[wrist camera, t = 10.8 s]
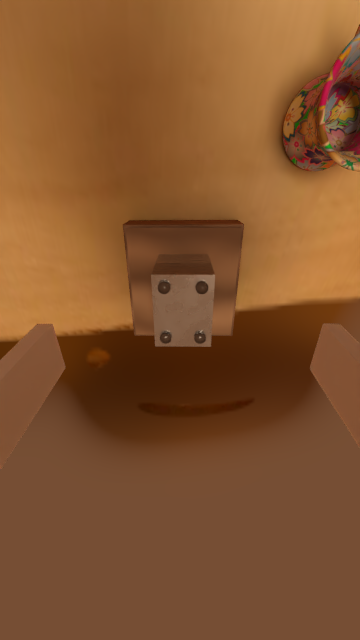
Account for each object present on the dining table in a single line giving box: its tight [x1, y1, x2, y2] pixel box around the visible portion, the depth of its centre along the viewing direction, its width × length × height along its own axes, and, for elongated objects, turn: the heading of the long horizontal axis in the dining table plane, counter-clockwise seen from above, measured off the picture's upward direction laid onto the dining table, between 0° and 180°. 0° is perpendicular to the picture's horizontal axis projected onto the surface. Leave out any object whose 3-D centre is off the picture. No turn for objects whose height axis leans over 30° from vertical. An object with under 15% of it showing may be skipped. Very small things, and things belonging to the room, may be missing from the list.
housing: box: [151, 254, 215, 347], centre depth 29 cm, size 8×6×8 cm
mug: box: [283, 25, 360, 171], centre depth 23 cm, size 12×9×11 cm
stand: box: [123, 220, 244, 336], centre depth 35 cm, size 15×14×4 cm
